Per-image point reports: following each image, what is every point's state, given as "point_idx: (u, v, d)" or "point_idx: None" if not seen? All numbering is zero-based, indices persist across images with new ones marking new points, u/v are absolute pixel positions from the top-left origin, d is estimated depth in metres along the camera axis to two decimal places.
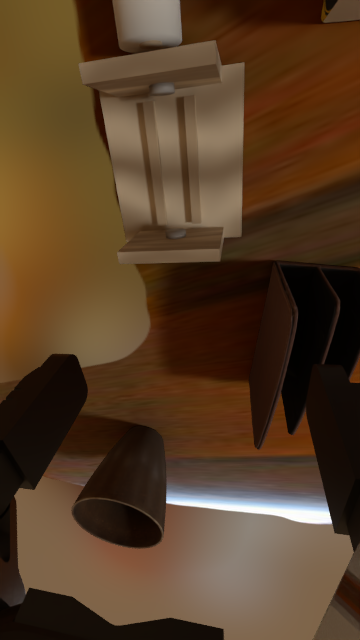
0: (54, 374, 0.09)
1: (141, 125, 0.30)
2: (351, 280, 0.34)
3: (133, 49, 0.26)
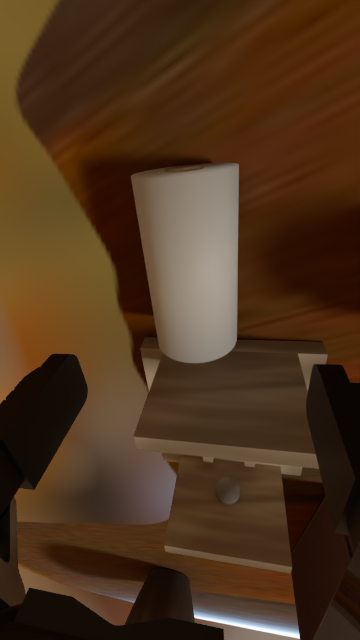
0: (54, 374, 0.09)
1: None
2: None
3: None
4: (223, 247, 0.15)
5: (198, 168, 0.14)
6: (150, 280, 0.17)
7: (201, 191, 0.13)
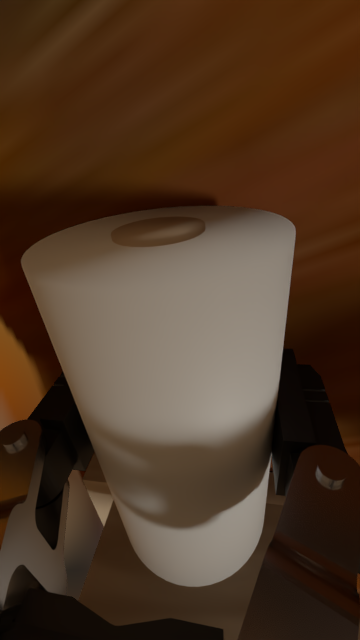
0: None
1: None
2: None
3: None
4: (275, 393, 0.07)
5: (201, 230, 0.06)
6: (109, 474, 0.07)
7: (253, 304, 0.05)
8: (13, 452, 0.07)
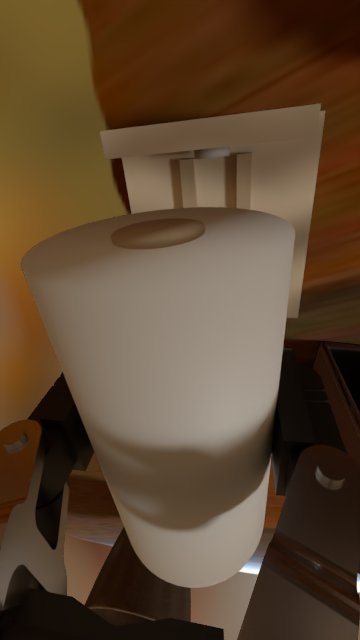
0: None
1: (175, 186, 0.22)
2: None
3: None
4: (275, 394, 0.07)
5: (201, 233, 0.06)
6: (109, 475, 0.07)
7: (252, 307, 0.05)
8: (13, 452, 0.07)
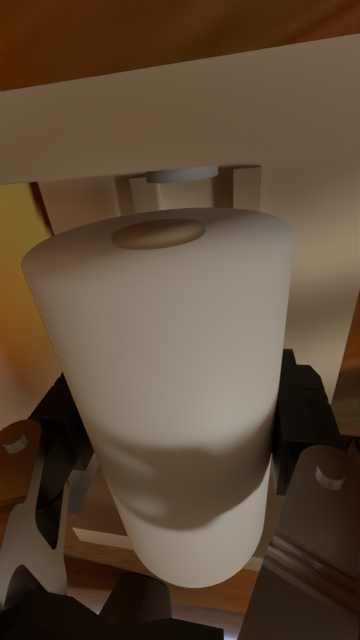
0: None
1: None
2: None
3: None
4: (275, 394, 0.07)
5: (201, 233, 0.06)
6: (109, 476, 0.07)
7: (253, 307, 0.05)
8: (13, 452, 0.07)
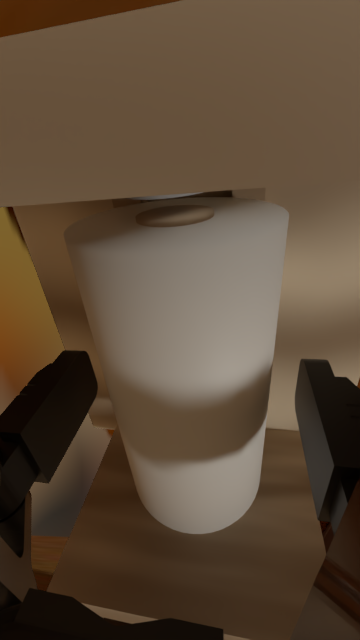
0: (67, 370, 0.09)
1: None
2: None
3: None
4: (270, 355, 0.08)
5: (211, 215, 0.07)
6: (128, 426, 0.09)
7: (254, 271, 0.06)
8: None
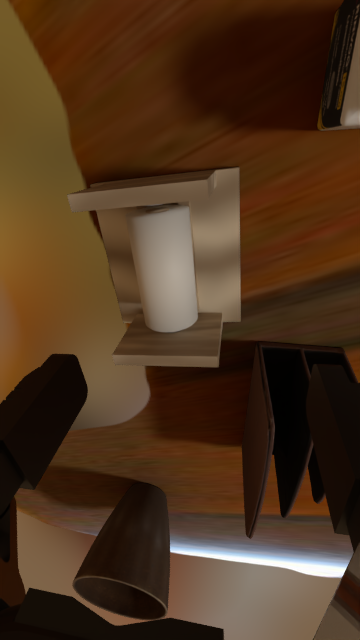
0: (54, 374, 0.09)
1: None
2: (336, 362, 0.34)
3: None
4: (188, 253, 0.25)
5: (167, 210, 0.25)
6: (143, 280, 0.26)
7: (176, 223, 0.23)
8: None
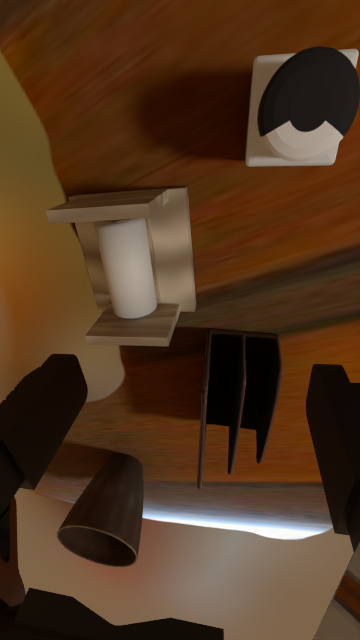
0: (54, 374, 0.09)
1: None
2: (271, 345, 0.41)
3: None
4: (144, 255, 0.32)
5: (127, 221, 0.31)
6: (109, 276, 0.33)
7: (132, 232, 0.30)
8: None
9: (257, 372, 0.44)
